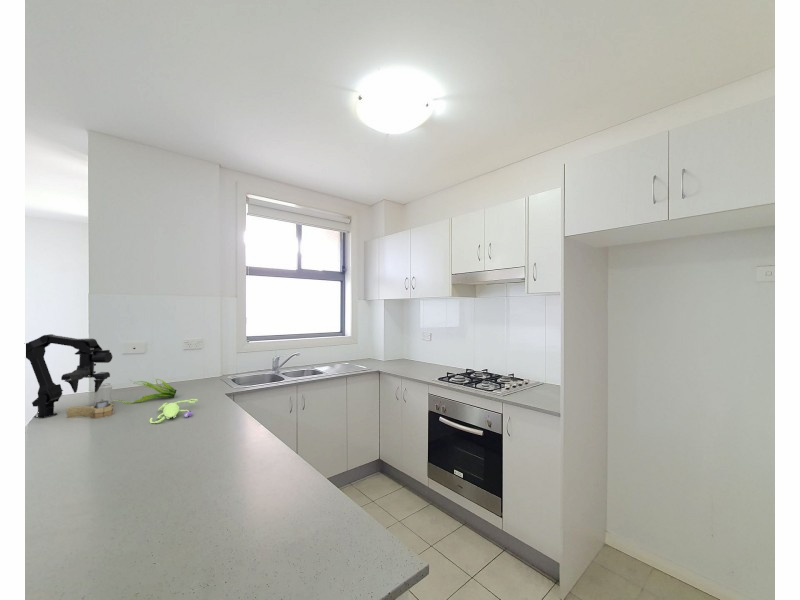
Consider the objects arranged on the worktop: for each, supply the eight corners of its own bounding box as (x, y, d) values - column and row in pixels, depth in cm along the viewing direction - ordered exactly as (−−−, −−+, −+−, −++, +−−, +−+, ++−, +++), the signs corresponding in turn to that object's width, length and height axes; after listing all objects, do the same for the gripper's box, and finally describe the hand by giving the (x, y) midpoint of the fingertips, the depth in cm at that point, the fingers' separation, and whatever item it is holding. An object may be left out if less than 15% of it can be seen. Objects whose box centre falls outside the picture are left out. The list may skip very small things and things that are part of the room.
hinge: (66, 417, 166) (66, 407, 166) (102, 407, 182) (102, 398, 182) (89, 421, 161) (89, 411, 161) (124, 411, 176) (124, 402, 176)
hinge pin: (93, 416, 168) (93, 403, 168) (104, 413, 173) (104, 400, 173) (99, 417, 167) (99, 404, 167) (110, 414, 172) (111, 401, 172)
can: (95, 407, 182) (96, 386, 182) (92, 404, 187) (93, 384, 187) (113, 404, 188) (113, 383, 188) (110, 401, 193) (110, 381, 193)
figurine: (198, 405, 189) (198, 395, 189) (192, 420, 165) (192, 409, 165) (160, 409, 181) (160, 399, 181) (147, 426, 157) (147, 414, 157)
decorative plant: (126, 398, 201) (127, 374, 201) (178, 396, 206) (179, 373, 206) (105, 407, 183) (105, 381, 184) (162, 405, 188) (162, 379, 188)
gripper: (52, 365, 161) (51, 397, 161) (96, 365, 165) (95, 395, 165) (70, 361, 172) (69, 391, 172) (111, 361, 176) (110, 390, 176)
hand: (85, 392), depth 171 cm, fingers open, 9 cm apart
